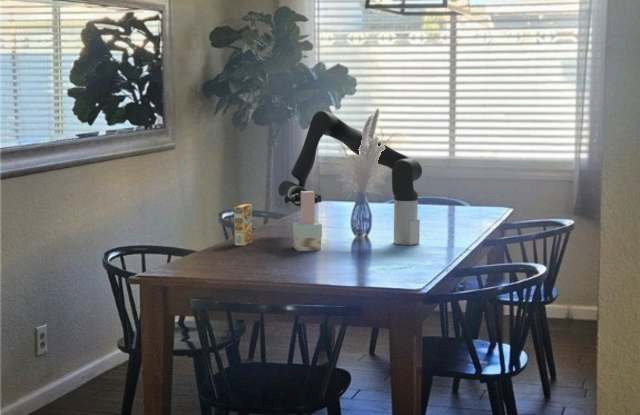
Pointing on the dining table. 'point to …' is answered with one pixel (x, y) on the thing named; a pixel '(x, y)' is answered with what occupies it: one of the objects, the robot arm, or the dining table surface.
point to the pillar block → (307, 207)
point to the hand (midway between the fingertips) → (305, 200)
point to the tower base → (307, 244)
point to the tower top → (307, 230)
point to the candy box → (243, 224)
